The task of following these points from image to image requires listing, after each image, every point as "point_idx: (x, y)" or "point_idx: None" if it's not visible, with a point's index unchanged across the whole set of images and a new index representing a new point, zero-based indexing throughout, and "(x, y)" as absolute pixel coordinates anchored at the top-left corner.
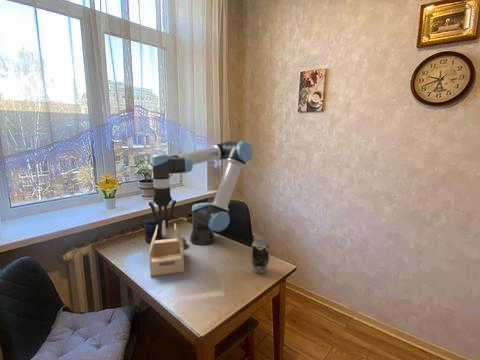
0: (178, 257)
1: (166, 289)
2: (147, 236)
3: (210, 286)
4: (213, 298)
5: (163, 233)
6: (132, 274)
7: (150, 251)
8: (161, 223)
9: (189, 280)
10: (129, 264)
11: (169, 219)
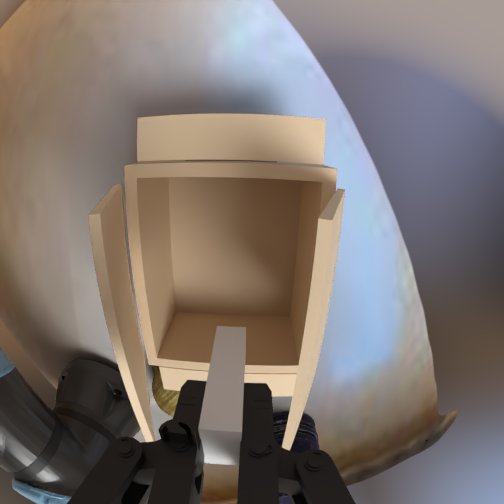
0: (153, 131)
1: (243, 44)
2: (312, 444)
3: (85, 43)
4: None
5: (235, 338)
6: (383, 213)
7: (340, 193)
8: (249, 429)
9: (145, 87)
10: (387, 300)
11: (132, 448)
